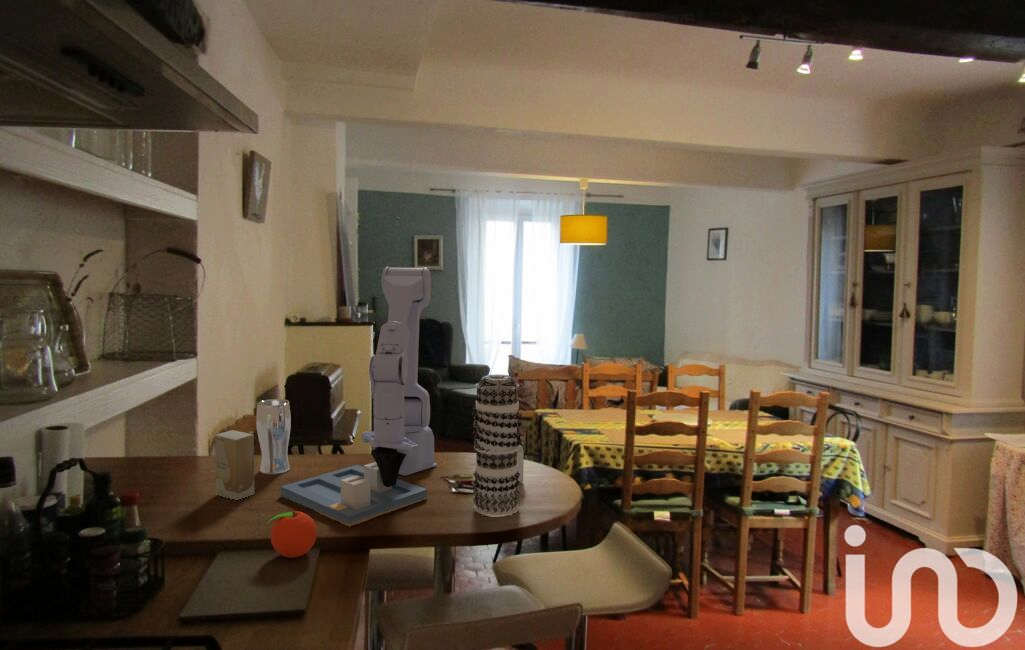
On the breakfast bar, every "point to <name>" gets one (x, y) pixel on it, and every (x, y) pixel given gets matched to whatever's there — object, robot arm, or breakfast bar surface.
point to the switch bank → (327, 495)
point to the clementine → (293, 534)
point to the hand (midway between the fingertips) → (389, 485)
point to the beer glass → (273, 435)
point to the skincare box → (234, 464)
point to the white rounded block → (520, 463)
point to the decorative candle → (496, 445)
